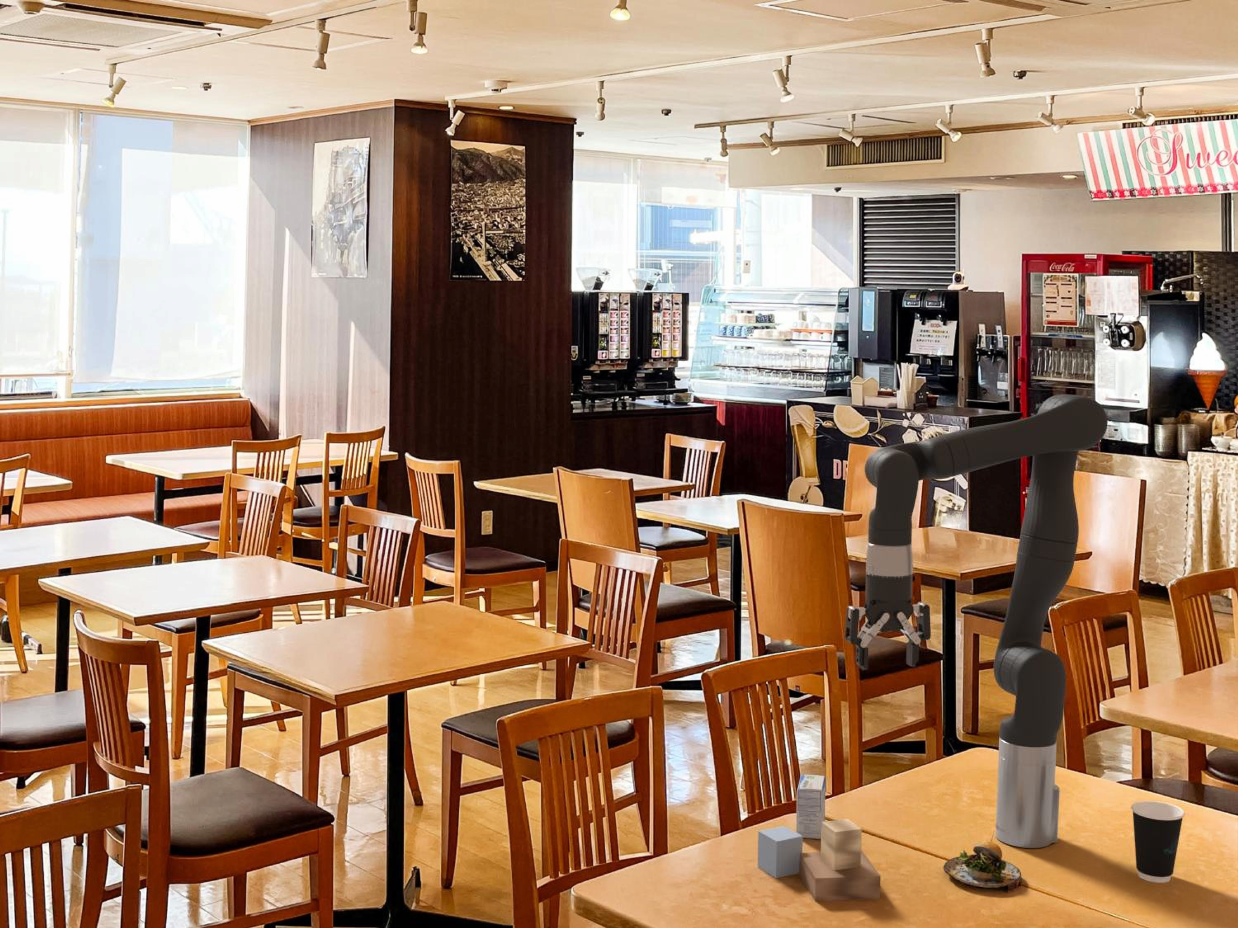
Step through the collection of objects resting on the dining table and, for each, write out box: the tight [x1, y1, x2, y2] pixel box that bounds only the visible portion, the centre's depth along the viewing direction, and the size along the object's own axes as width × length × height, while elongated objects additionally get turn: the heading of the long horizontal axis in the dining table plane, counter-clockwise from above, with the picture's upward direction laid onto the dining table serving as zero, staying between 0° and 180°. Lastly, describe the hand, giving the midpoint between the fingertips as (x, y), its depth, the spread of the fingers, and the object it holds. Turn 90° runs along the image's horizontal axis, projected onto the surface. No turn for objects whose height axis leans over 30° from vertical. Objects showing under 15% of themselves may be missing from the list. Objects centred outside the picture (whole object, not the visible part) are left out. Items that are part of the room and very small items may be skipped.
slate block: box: [757, 825, 804, 879], centre depth 222 cm, size 5×5×6 cm
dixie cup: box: [1130, 800, 1186, 884], centre depth 220 cm, size 8×8×11 cm
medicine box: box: [795, 774, 827, 840], centre depth 238 cm, size 8×4×9 cm, turn 168°
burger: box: [943, 829, 1023, 893], centre depth 219 cm, size 12×12×8 cm
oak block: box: [820, 818, 863, 870], centre depth 215 cm, size 4×4×6 cm
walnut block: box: [798, 850, 882, 902], centre depth 215 cm, size 10×10×4 cm
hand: (887, 666), depth 231 cm, fingers open, 8 cm apart
